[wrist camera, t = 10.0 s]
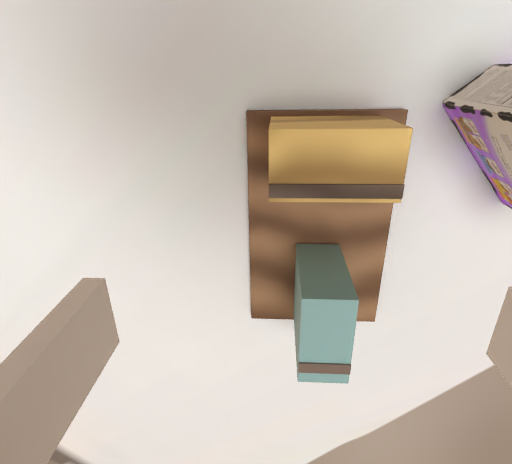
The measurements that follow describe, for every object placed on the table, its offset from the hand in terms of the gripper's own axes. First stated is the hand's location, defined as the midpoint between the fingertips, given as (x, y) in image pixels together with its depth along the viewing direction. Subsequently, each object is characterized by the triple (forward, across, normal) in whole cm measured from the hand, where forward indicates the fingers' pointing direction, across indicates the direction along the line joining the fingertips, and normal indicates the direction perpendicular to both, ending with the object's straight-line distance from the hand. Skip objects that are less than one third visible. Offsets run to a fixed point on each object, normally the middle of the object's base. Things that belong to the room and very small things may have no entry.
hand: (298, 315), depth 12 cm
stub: (+27, +4, -16) cm, 32 cm away
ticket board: (+29, +4, -9) cm, 30 cm away
